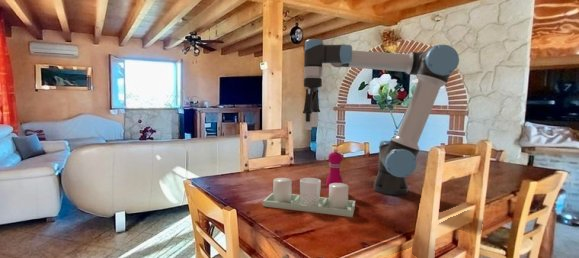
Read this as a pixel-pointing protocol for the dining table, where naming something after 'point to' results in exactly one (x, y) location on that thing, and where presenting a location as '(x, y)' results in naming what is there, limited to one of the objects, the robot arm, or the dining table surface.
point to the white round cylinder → (338, 196)
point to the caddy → (321, 208)
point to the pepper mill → (334, 168)
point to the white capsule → (282, 190)
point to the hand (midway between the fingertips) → (311, 128)
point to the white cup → (310, 191)
